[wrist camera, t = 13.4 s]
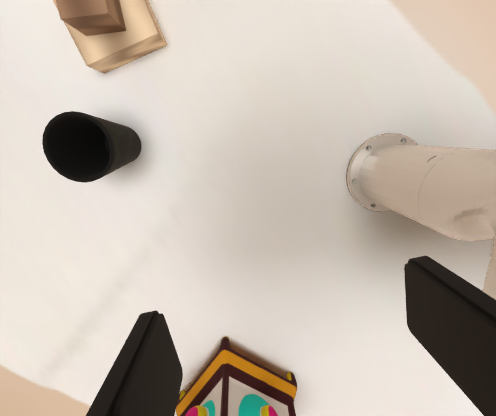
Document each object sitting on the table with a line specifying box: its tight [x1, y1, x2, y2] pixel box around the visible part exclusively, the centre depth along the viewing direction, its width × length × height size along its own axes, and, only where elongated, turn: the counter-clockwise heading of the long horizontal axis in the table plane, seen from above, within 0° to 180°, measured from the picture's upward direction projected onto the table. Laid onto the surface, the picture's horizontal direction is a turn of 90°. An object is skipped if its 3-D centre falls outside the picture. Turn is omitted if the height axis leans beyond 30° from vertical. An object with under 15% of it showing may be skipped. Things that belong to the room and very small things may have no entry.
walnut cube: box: [56, 0, 126, 36], centre depth 30 cm, size 5×5×5 cm
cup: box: [42, 111, 141, 182], centre depth 35 cm, size 8×8×12 cm
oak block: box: [53, 0, 167, 73], centre depth 34 cm, size 10×10×5 cm
